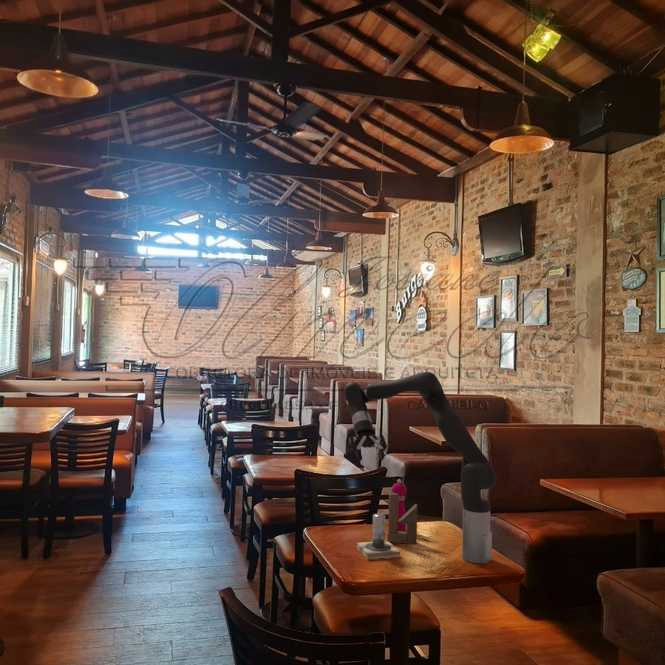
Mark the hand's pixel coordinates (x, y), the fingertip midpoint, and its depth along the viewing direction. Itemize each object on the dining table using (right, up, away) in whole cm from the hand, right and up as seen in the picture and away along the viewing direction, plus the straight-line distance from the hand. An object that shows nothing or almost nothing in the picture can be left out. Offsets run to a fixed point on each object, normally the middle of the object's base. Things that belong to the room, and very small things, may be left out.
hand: (371, 459), depth 224 cm
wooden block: (+11, -31, -1) cm, 33 cm away
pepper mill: (+12, -32, +16) cm, 37 cm away
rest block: (+1, -30, -14) cm, 33 cm away
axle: (+1, -28, -13) cm, 31 cm away
